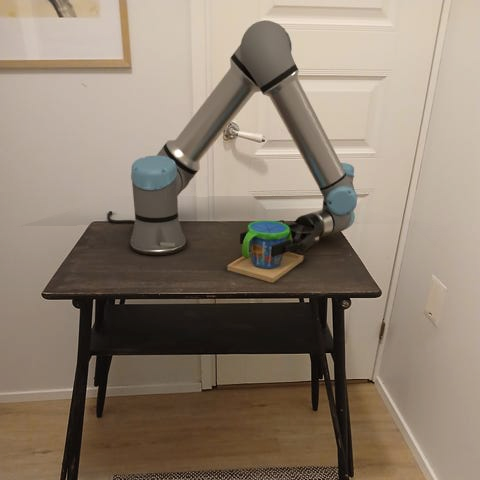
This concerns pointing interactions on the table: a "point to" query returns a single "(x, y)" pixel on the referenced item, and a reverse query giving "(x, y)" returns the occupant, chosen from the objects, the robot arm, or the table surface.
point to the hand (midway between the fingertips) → (256, 244)
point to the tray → (265, 274)
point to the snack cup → (265, 242)
